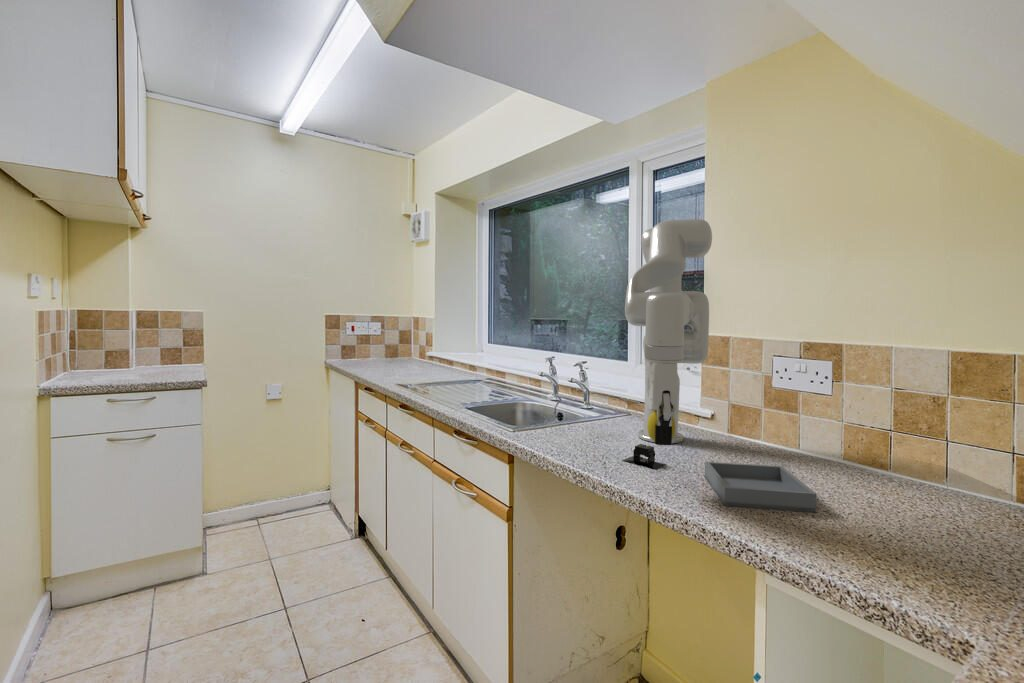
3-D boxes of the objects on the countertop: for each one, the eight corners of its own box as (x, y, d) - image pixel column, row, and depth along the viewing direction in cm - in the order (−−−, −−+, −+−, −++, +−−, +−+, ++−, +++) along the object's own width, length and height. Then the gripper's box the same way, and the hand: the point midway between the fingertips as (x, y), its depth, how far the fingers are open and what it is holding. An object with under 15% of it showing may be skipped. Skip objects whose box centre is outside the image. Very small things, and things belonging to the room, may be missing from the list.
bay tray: (704, 476, 107) (705, 461, 107) (781, 481, 105) (782, 466, 105) (724, 505, 92) (725, 487, 91) (815, 512, 89) (816, 493, 89)
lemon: (680, 447, 99) (681, 409, 99) (661, 451, 97) (662, 412, 96) (660, 439, 104) (661, 403, 103) (641, 443, 101) (642, 406, 101)
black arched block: (674, 467, 115) (675, 449, 115) (659, 474, 110) (660, 455, 110) (629, 456, 124) (629, 438, 124) (613, 462, 119) (613, 444, 118)
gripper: (640, 348, 108) (638, 427, 109) (650, 359, 91) (647, 452, 92) (675, 349, 106) (672, 429, 108) (691, 360, 89) (687, 454, 91)
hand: (660, 439), depth 100 cm, fingers closed on lemon, 5 cm apart
